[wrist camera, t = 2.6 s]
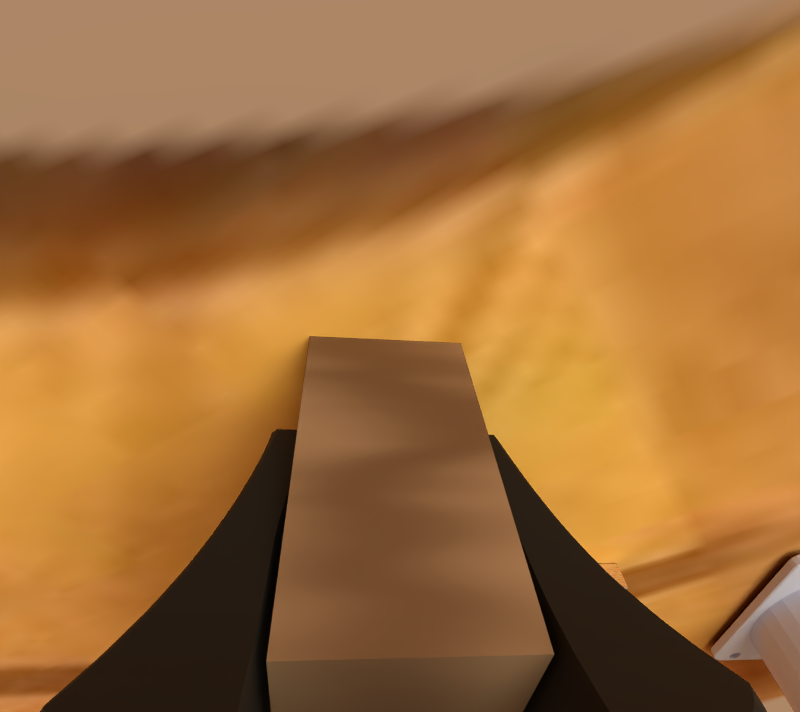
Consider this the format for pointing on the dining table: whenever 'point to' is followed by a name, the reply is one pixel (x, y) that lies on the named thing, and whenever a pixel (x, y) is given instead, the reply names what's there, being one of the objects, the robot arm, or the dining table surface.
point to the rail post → (399, 544)
